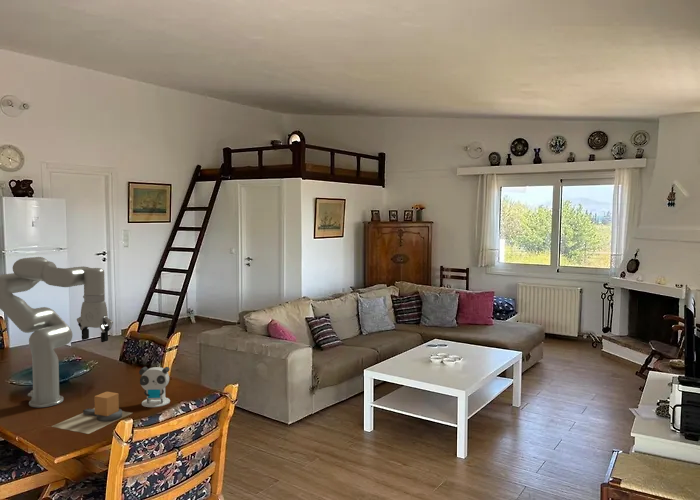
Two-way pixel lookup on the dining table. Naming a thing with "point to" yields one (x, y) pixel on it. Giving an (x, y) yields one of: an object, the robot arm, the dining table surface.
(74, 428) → the board
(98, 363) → the dining table surface
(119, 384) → the dining table surface
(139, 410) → the dining table surface
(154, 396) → the panda figurine
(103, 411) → the tan wooden cube
